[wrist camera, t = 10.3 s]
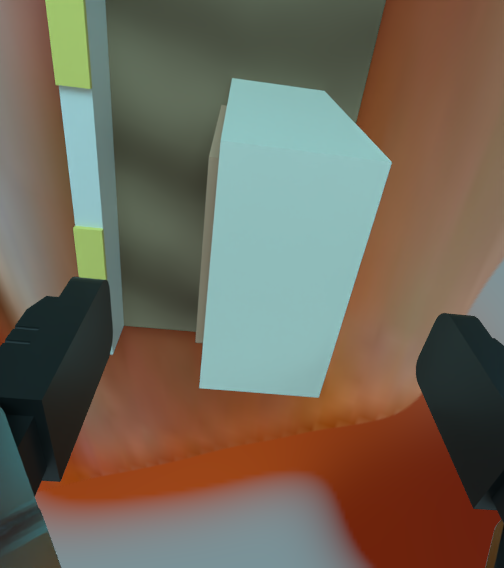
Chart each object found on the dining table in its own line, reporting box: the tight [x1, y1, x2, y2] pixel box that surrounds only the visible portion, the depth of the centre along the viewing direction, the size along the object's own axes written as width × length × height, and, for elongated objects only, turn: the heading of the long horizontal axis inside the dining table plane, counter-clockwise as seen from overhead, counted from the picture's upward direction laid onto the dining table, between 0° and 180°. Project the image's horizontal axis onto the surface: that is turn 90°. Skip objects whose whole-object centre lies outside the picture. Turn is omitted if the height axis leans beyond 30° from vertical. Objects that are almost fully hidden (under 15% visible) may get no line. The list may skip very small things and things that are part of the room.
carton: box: [195, 78, 392, 398], centre depth 16 cm, size 4×8×10 cm, turn 173°
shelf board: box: [105, 0, 386, 332], centre depth 21 cm, size 20×12×1 cm, turn 173°
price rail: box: [45, 0, 124, 355], centre depth 18 cm, size 20×1×3 cm, turn 173°
